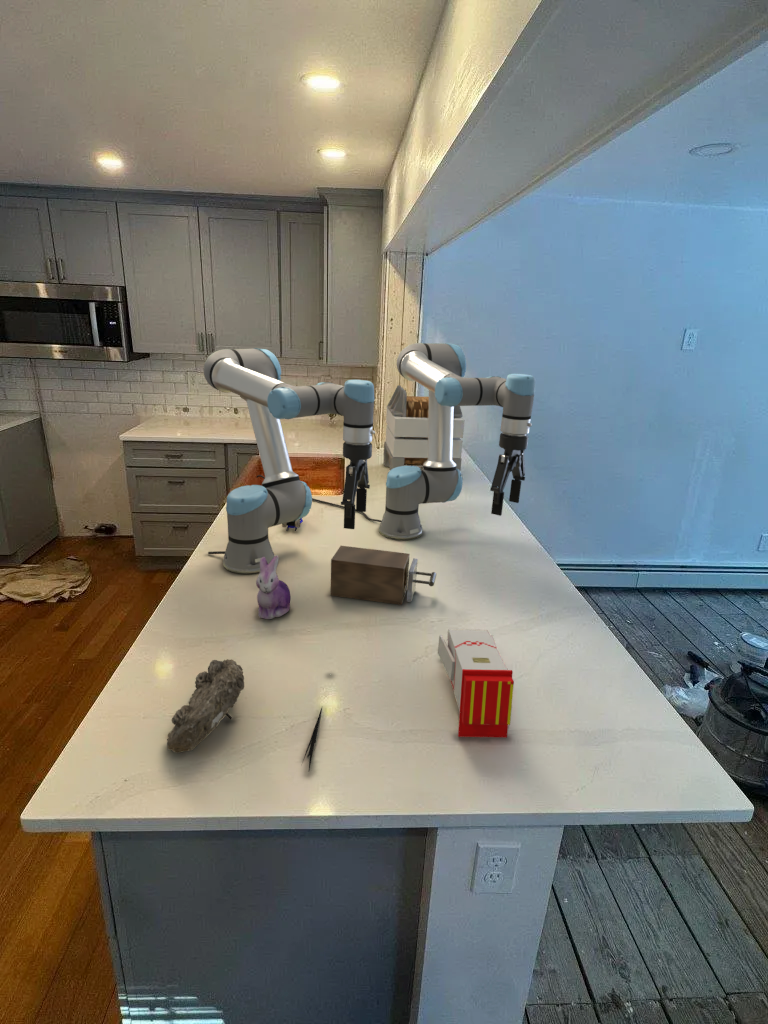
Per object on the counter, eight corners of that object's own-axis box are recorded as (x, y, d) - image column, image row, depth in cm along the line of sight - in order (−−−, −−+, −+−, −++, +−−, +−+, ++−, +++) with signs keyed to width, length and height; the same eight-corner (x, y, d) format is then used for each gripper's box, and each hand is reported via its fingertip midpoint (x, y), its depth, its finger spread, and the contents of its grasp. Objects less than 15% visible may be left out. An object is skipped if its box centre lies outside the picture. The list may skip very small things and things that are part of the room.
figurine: (261, 624, 140) (259, 569, 134) (250, 605, 148) (248, 552, 143) (298, 616, 144) (297, 562, 139) (285, 598, 152) (284, 547, 147)
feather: (331, 679, 122) (336, 673, 122) (307, 777, 96) (313, 769, 95) (324, 675, 122) (329, 669, 121) (298, 772, 95) (304, 764, 95)
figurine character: (300, 537, 196) (305, 517, 210) (300, 518, 193) (305, 499, 206) (281, 536, 196) (287, 517, 209) (280, 517, 193) (286, 498, 206)
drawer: (435, 590, 159) (437, 561, 156) (431, 604, 151) (434, 574, 148) (351, 579, 163) (352, 550, 160) (343, 593, 155) (344, 563, 152)
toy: (488, 613, 130) (523, 677, 101) (484, 667, 133) (517, 744, 104) (435, 612, 130) (455, 676, 101) (432, 666, 133) (451, 743, 103)
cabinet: (407, 588, 161) (409, 553, 158) (401, 605, 152) (403, 568, 148) (340, 579, 165) (340, 545, 161) (330, 595, 155) (331, 559, 152)
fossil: (192, 660, 117) (244, 628, 112) (224, 691, 120) (276, 661, 115) (142, 746, 98) (202, 712, 93) (182, 779, 101) (242, 748, 96)
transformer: (382, 463, 289) (386, 382, 275) (445, 464, 293) (451, 384, 279) (390, 482, 257) (394, 392, 243) (460, 483, 261) (468, 394, 247)
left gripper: (361, 454, 133) (358, 538, 141) (381, 433, 156) (378, 506, 164) (330, 452, 134) (329, 534, 142) (354, 431, 158) (352, 503, 165)
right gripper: (511, 443, 140) (501, 523, 148) (542, 428, 160) (532, 499, 168) (483, 438, 144) (475, 517, 151) (517, 424, 164) (508, 494, 171)
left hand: (355, 519), depth 153 cm, fingers open, 13 cm apart
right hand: (505, 508), depth 159 cm, fingers open, 13 cm apart
